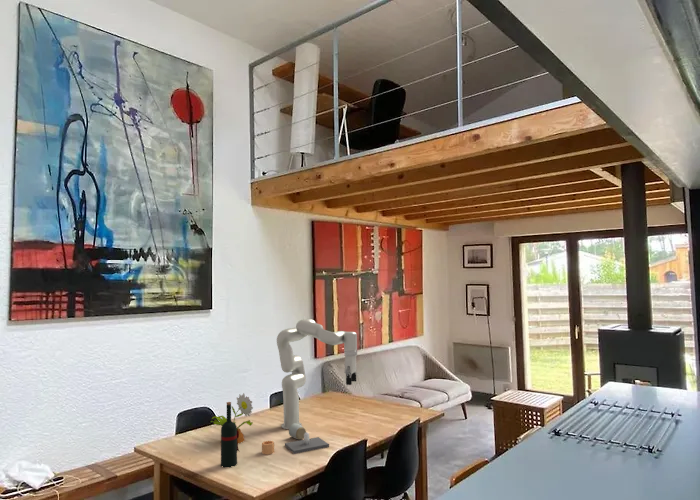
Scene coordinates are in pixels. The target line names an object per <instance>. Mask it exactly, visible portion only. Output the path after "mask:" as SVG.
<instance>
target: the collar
mask: <svg viewBox="0 0 700 500" xmlns="http://www.w3.org/2000/svg"><path fill="white" fill-rule="evenodd" d="M274 453H275V442H274V441H273V440H266V441H265V440H264V441H263V442H261V454H263V455H267V456H268V455H273V454H274Z"/></svg>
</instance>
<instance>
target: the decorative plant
mask: <svg viewBox="0 0 700 500" xmlns="http://www.w3.org/2000/svg"><path fill="white" fill-rule="evenodd" d="M236 400H237V401H236V405H237V406H238V410H237V411H235V408H234V406H232V405H231V411H232V412H233V414H234V418H233V422H234V423H235V424H236V421H235V420H236V418H238V417H241V416H243V415H244V416H245V417H247V416H248V417H250V416H251V414H252V413H253V411H252V410H253V409H254V407H253V404H252V403H253V401H252V400H251V399H250V397H249V396H246V395H245V393H244V392H243V394H241V393H240V394H239V396H238V397H236ZM239 411H240V413H239V414H238V412H239ZM213 420H214V421H213ZM212 422H213V425H216V426H220V427H222V425H223V424H224V423H225V422H227V417H225V416H224V415H218V416H216V415H215V416H212V418H211V421H210V423H212ZM245 424H247V425H249V427H250V426H253V424H254V422H253V421H252V422H251V420H249V419H248V420H246V421H243V422H242V423H240V424H239V425H238V426H237V431H239V438H237V441H238V443H239V444H241V442H242V443H244V442H245V437H244V433H243V432H242V430H241V426H243V425H245ZM243 441H244V442H243Z"/></svg>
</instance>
